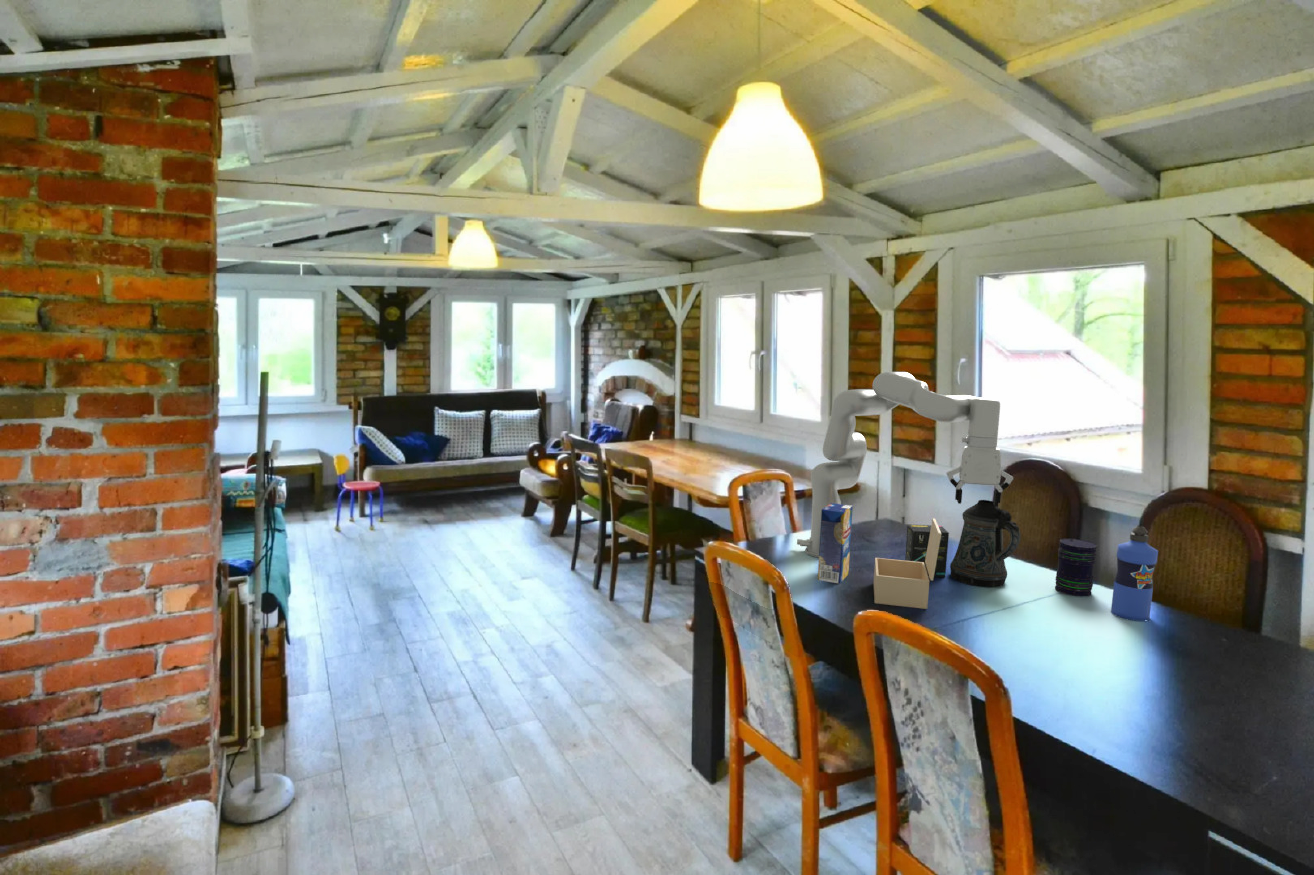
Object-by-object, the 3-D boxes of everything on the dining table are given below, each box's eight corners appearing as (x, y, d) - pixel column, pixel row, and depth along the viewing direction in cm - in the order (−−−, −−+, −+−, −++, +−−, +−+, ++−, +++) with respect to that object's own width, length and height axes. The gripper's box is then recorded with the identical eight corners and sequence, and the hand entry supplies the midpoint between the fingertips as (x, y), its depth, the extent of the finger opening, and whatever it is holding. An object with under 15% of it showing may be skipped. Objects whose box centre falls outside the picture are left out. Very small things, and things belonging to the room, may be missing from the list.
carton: (874, 603, 210) (876, 575, 209) (873, 583, 228) (875, 557, 227) (927, 609, 207) (929, 581, 206) (922, 588, 224) (924, 562, 223)
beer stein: (953, 567, 246) (959, 493, 242) (1019, 578, 236) (1026, 501, 233) (945, 581, 231) (951, 502, 228) (1014, 593, 222) (1022, 511, 218)
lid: (938, 533, 204) (941, 533, 203) (932, 518, 221) (935, 518, 221) (930, 580, 206) (933, 580, 206) (925, 561, 223) (927, 562, 223)
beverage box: (848, 574, 236) (852, 505, 233) (839, 583, 226) (844, 512, 223) (826, 570, 239) (830, 502, 236) (817, 579, 229) (821, 509, 226)
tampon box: (938, 568, 244) (941, 525, 242) (946, 578, 235) (949, 532, 233) (903, 566, 245) (906, 523, 243) (910, 575, 236) (913, 530, 234)
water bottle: (1158, 621, 202) (1169, 531, 199) (1125, 621, 202) (1136, 531, 198) (1133, 608, 212) (1144, 522, 208) (1102, 608, 211) (1112, 522, 207)
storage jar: (1099, 596, 221) (1105, 547, 219) (1069, 597, 220) (1075, 548, 218) (1075, 585, 231) (1080, 538, 229) (1047, 586, 229) (1052, 538, 227)
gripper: (950, 442, 205) (945, 504, 207) (1019, 446, 201) (1013, 509, 203) (947, 439, 212) (942, 499, 215) (1013, 443, 208) (1008, 503, 210)
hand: (977, 504), depth 209 cm, fingers open, 9 cm apart
